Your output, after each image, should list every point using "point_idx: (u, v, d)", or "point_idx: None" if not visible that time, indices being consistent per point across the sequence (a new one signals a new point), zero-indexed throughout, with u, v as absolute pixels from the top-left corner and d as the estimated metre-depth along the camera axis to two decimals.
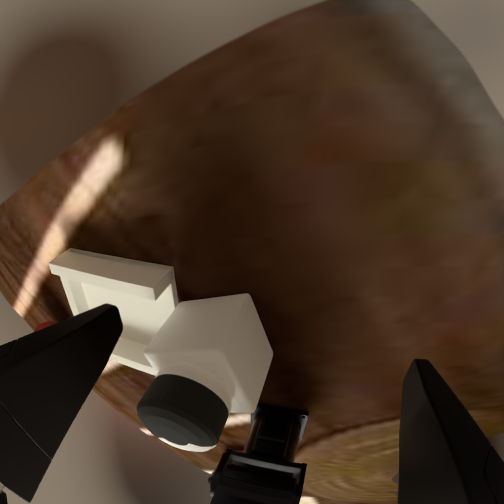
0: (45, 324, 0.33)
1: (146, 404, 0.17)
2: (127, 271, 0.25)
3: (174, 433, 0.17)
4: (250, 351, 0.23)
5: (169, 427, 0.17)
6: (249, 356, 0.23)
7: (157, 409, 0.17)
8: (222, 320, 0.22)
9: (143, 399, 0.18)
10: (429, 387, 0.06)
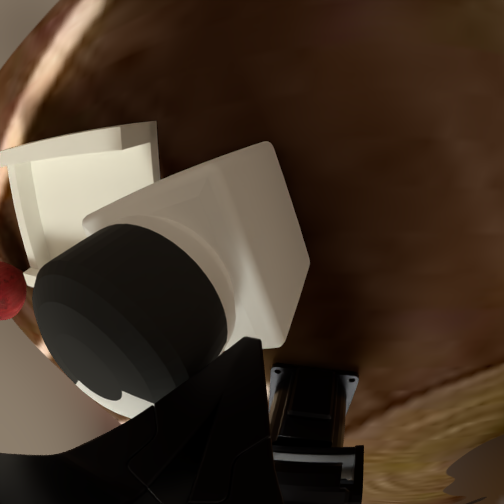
0: None
1: (38, 276, 0.07)
2: (89, 130, 0.15)
3: (88, 358, 0.07)
4: (275, 221, 0.13)
5: (75, 337, 0.07)
6: (272, 227, 0.12)
7: (51, 278, 0.07)
8: (225, 155, 0.12)
9: None
10: (237, 363, 0.07)
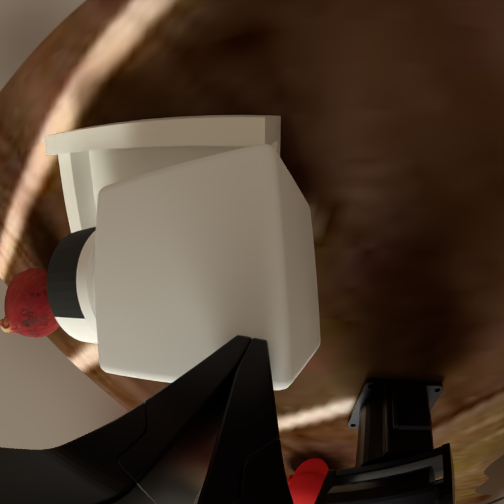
0: (28, 270, 0.21)
1: None
2: None
3: None
4: (163, 259, 0.09)
5: None
6: (148, 262, 0.09)
7: None
8: None
9: None
10: (243, 364, 0.07)
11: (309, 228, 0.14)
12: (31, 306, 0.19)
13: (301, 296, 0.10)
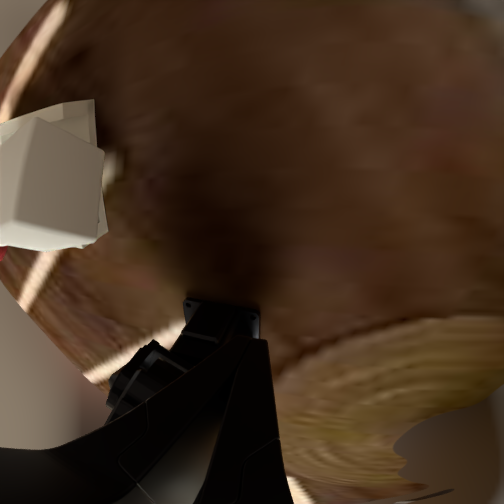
0: None
1: None
2: None
3: None
4: (0, 176, 0.15)
5: None
6: None
7: None
8: None
9: None
10: (243, 364, 0.07)
11: (91, 162, 0.19)
12: None
13: (48, 189, 0.16)
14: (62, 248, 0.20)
